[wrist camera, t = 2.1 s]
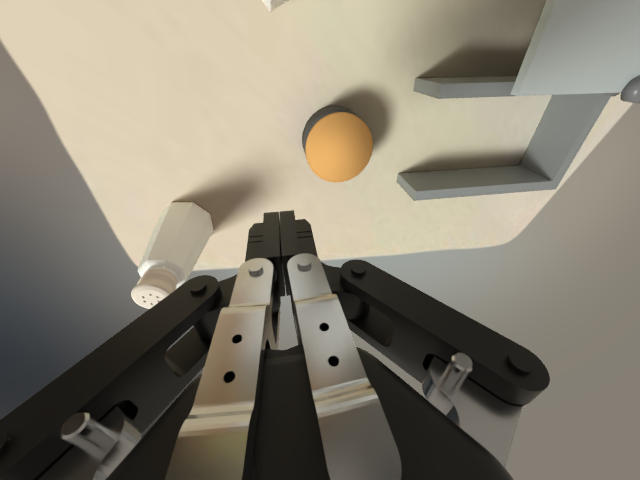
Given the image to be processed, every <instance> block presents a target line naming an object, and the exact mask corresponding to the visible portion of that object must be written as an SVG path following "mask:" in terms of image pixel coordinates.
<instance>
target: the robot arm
mask: <svg viewBox="0 0 640 480" xmlns="http://www.w3.org/2000/svg"><path fill="white" fill-rule="evenodd" d="M284 278H285V281H284ZM285 285H286V293H287V296H288V295H291V303H292V311H293V317H294V323H295V329H296V334H297V340H298V345H297V346H295V347H292V348H290V349H287V350H278V341H279V324H280V303H281V302H280V296H285ZM192 326H194V327H193V328H192V329H191V330H190V331H189V332H188V333H187V334H186V335H184V336H183V337H182V338H181V339H180V340H179V341H178V342H177V343H176V344H175V345H173V346H172V347H171V348H170V349H169V350H168V351H167V349H168V348H169V346H170V345H171V344H173V343H174V342H175V341H176V340H177V339H178V338H179V337H180V336H181V335H183V334H184V333H185V332H186V331H187V330H188V329H189V328H190V327H192ZM350 330H351V331H353V332H354V333H355V334H357V335H358V336H359V337H361V338H362V339H364V340H365V341H366V342H367V343H369V344H370V345H371V346H373V347H374V348H375V349H377V350H378V351H379V352H381V353H382V354H383V355H385V356H386V357H387V358H389V359H390V360H391V361H393V362H394V363H395V364H397V365H398V366H399V367H401V368H402V369H403V370H404V371H406V372H407V373H409V374H410V375H411V376H412V377H414V378H415V379H416V380H418V381H419V382H420V383H422V389H423V393H424V395H425V397H426V399H427V400H426V399H425V398H424V397H423V396H422V395H420V394H419V393H418V392H417V391H416V390H414V389H413V388H412V387H410V385H408V384H407V383H406V382H405V381H403V380H402V379H401V378H400V377H399V376H397V375H396V374H395V373H394V372H392V371H391V370H390V369H389V368H388V367H386V366H385V365H384V364H383V363H382V362H380V361H379V360H378V359H377V358H375V357H374V356H373V355H371V354H370V353H368V352H367V351H365V350H362V349H360V348H358V347H356V345H355V343H354V340H353V337H352V335H351V332H350ZM166 351H167V352H166ZM165 352H166V353H165ZM203 367H204V369H203V373H202V374H201V375H199V376H198V377H197V378H196V379H195V380H194V381H192V382H191V383H190V384H189V386H188V387H187V388H186V389H185V390H184V391H183V392H182V394H180V396H179V397H178V398H177V399H176V400H175V402H174V403H173V404H172V405H171V406H170V407H169V408H168V409H167V410H166V412H165V413H164V414H163V415H162V416H161V417H160V418H159V419H158V421H157V422H156V423H155V424H154V425H153V426H152V427H151V429H150V430H149V431H148V432H147V433H146V434H145V435H144V436H143V438H142V439H141V433H142V432H143V431H144V430H145V429H146V428H147V427H148V426H149V425H150V424H151V423H152V422H153V421H154V419H155V418H156V417H157V416H158V415H159V414H160V413H161V412H162V411H163V410H164V409H165V407H166V406H167V405H168V404H169V403H170V402H171V401H172V400H173V399H174V398H175V397H176V396H177V395H178V394H179V393H180V391H182V389H183V388H184V387H185V386H186V385H187V384H188V383H189V382H190V381H191V380H192V379H193V378H194V377H195V376H196V374H197V373H198V372H199V371H200V370H201V369H202V368H203ZM549 381H550V378H549V373H548V371H547V369H546V367H545V365H544V364H543V363H542V361H541V360H540V359H539V358H538V357H537V356H536V355H535V354H533V353H532V352H531V351H529V350H528V349H526V348H524V347H522V346H521V345H519V344H517V343H515V342H513V341H511V340H510V339H508V338H506V337H504V336H502V335H500V334H499V333H497V332H495V331H493V330H491V329H489V328H488V327H486V326H484V325H482V324H480V323H478V322H477V321H475V320H473V319H471V318H469V317H467V316H465V315H464V314H462V313H460V312H458V311H456V310H454V309H453V308H450V307H449V306H447V305H445V304H443V303H442V302H439V301H438V300H436V299H434V298H432V297H430V296H429V295H427V294H425V293H423V292H421V291H420V290H418V289H416V288H414V287H412V286H410V285H408V284H407V283H405V282H403V281H401V280H399V279H397V278H396V277H394V276H392V275H390V274H388V273H386V272H385V271H382V270H381V269H379V268H377V267H375V266H374V265H372V264H370V263H368V262H366V261H362V260H350V261H348V262H346V263H344V264H343V265H342V267H341V268H338V267H332V266H328V265H325V264H324V263H322V262H321V261H320V259H319V258H318V256H317V252H316V248H315V243H314V239H313V234H312V229H311V225H310V224H309V223H308V222H307V221H306V220H305V219H302V220H295V215H294V211H282V212H280V219H279V212H270V213H264V221H263V223H256V224H254V225H253V226H252V227H251V228H250V230H249V235H248V243H247V251H246V259H245V263H243V264H242V265H241V266H240V268H239V270H238V274H237V275H235V276H233V277H231V278H228V279H225V280H223V281H220V282H218V281H217V279H216V278H214V277H212V276H207V275H203V276H198V277H195V278H192V279H190V280H188V281H187V282H186V283H184V284H183V285H182V286H180V287H179V288H177V289H176V290H175V291H173V292H172V293H171V294H169V295H168V296H167V297H165V298H164V299H163V300H161V301H160V302H159V303H157V304H156V305H155V306H153V307H152V308H151V309H149V310H148V311H147V312H145V313H144V314H142V315H141V316H140V317H138V318H137V319H136V320H134V321H133V322H132V323H130V324H129V325H128V326H127V327H125V328H124V329H122V330H121V331H120V332H118V333H117V334H115V335H114V336H113V337H111V338H110V339H109V340H107V341H106V342H105V343H103V344H102V345H101V346H99V347H98V348H97V349H95V350H94V351H93V352H92V353H90V354H89V355H87V356H86V357H85V358H83V359H82V360H80V361H79V362H78V363H76V364H75V365H74V366H72V367H71V368H70V369H69V370H67V371H66V372H64V373H63V374H62V375H60V376H59V377H58V378H56V379H55V380H54V381H52V382H51V383H50V384H48V385H47V386H45V387H44V388H43V389H41V390H40V391H39V392H37V393H36V394H35V395H33V396H32V397H31V398H29V399H28V400H27V401H25V402H24V403H23V404H21V405H20V406H19V407H17V408H16V409H15V410H13V411H12V412H10V413H9V414H8V415H6V416H5V417H4V418H2V419H1V420H0V480H513V478H512V477H511V476H510V474H509V473H508V472H507V470H506V469H505V466H506V462H507V459H508V455H509V451H510V448H511V444H512V441H513V437H514V434H515V430H516V427H517V423H518V419H519V416H520V412H521V410H522V409H523V408H524V407H525V406H526V405H528V404H529V403H530V402H531V401H532V400H533V399H534V398H535V397H536V396H538V395H539V394H540V393H541V392H542V391H543V390H544V389H545V388H547V386H548V385H549ZM140 439H141V440H140Z"/></svg>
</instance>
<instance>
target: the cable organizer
mask: <svg viewBox="0 0 640 480" xmlns="http://www.w3.org/2000/svg"><path fill="white" fill-rule="evenodd" d="M262 1H263V3H264V4H265V6H266V7H267V9H268V10H269V11H271V12H272V11H273V10H275V9H276V8H278V7H279V6H281V5H282V4H284V3H285V2H287V1H288V0H262Z"/></svg>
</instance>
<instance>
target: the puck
mask: <svg viewBox="0 0 640 480" xmlns="http://www.w3.org/2000/svg"><path fill="white" fill-rule="evenodd" d="M302 143H303V148H304V152H305V155H306V158H307V161H308V164H309V166H310V168H311V169H312V171H313V172H314V173H315V174H316V175H317V176H318V177H320V178H322V179H323V180H326V181H329V182H343V181H347V180H350V179H352V178H354V177H355V176H357V175H358V174H359V173H360V172H361V171H362V170H363V169H364V168H365V167H366V165H367V164H368V162H369V160H370V157H371V154H372V149H373V140H372V135H371V132H370V130H369V128H368V127H367V125H366V124H365V123H364V122H363V121H362V120H361V119H360V118H359V117H357V116H356V115H355V114H354V113H352V112H351V111H350V110H348V109H346V108H344V107H341V106H328V107H324V108H322V109H320V110H318V111H317V112H315V113H314V114H313V115H312V116H311V117H310V119H309V120H308V121H307V123H306V125H305V128H304V131H303V136H302Z"/></svg>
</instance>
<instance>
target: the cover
mask: <svg viewBox="0 0 640 480" xmlns="http://www.w3.org/2000/svg"><path fill="white" fill-rule="evenodd" d="M591 93H621V100H622V101H626V102H632V103H640V0H546V3H545V6H544V8H543V11H542V13H541V16H540V19H539V21H538V24H537V26H536V29H535V32H534V34H533V37H532V39H531V42H530V45H529V47H528V50H527V52H526V55H525V58H524V60H523V63H522V65H521V68H520V71H519V73H518V76H517V78H516V81H515V84H514V86H513V89H512V91H511V95H516V96H532V95H562V94H591Z"/></svg>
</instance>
